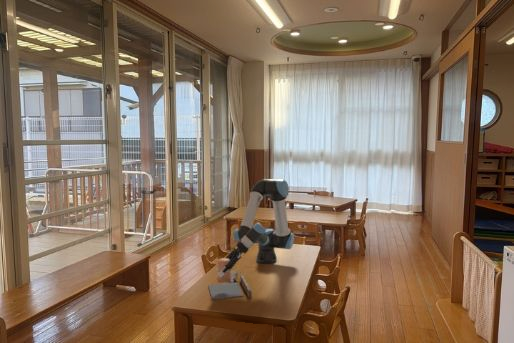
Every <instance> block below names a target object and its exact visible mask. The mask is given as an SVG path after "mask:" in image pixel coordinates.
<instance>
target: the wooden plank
mask: <svg viewBox="0 0 514 343" xmlns="http://www.w3.org/2000/svg"><path fill="white" fill-rule="evenodd" d="M239 277H240V279H239V280H240V282H241V283H240V284H241V285H242V287H243V289H244V291H245V294H246V295H247V296H248V298H249V299H251V298H253V295H252V294H253V292H252V289H251V287H250V285H249V283H248V282H247V280H246V278H245V277H244V275H243V274H239Z"/></svg>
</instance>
